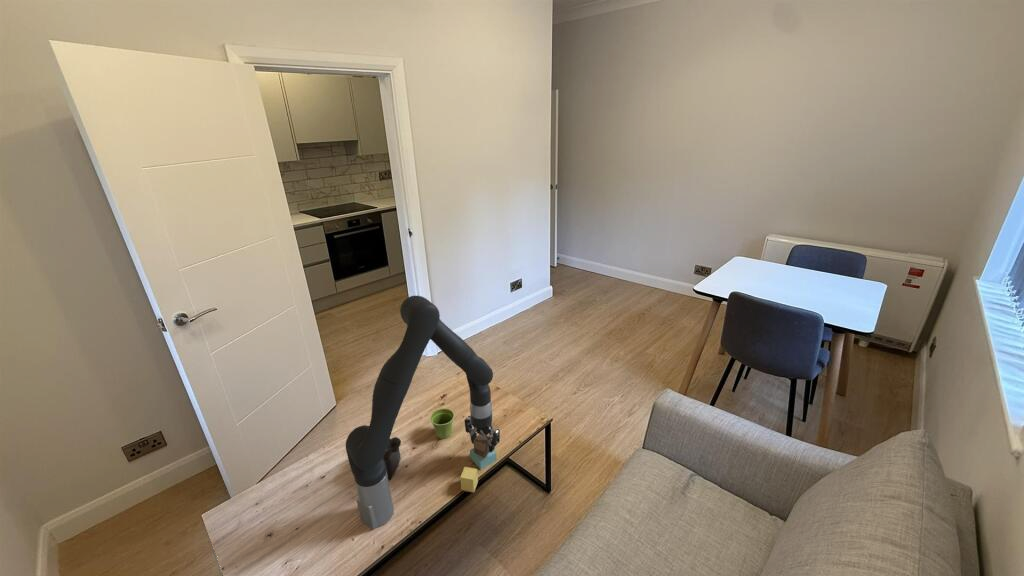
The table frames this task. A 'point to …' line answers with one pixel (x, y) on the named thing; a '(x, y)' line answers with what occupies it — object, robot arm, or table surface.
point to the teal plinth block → (483, 459)
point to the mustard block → (469, 479)
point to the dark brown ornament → (392, 456)
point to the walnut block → (481, 446)
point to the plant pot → (442, 422)
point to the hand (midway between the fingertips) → (482, 446)
